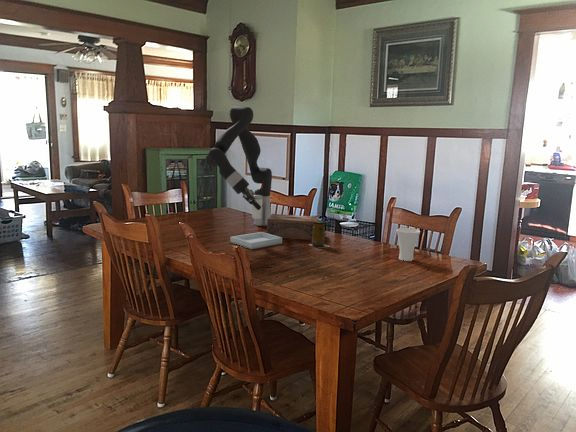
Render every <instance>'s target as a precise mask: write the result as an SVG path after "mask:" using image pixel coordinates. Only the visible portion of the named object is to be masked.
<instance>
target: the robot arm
mask: <svg viewBox="0 0 576 432" xmlns="http://www.w3.org/2000/svg"><path fill="white" fill-rule="evenodd" d="M229 117H230V122H231V123H232V126H230V127H229V128H227V129H226V130H225V131H223V132H222V133H221V134H220V135H219V137H218V138H217V140H216V142H215V143H214V146H212V148H211V149H210V150H209V152H208V153H207V154H206V156H205V163H206V164H207V166H208V167H211V168H214V167H218V169H219V170H218V173H219V175H220V176H221V177H222V178H223V179H224V180H225V182H226V183H227V185H228V186H230V187H231V189H232V190H233V191H234V192H235V193H236V194H237V195H240V194H242V198H244V200H245V201H247V203H248V204H249V205H251V206H252V205H254V207H255V208H256V209H257V210H260V209H261V206H260V205H259V204H258V203H257V202H256V200H255V199H254V196H253V195H262V218H261V219H254V218H253V225H255V226H260V227H262V226H264V227H265V226H266V227H267V219H268V218H269V217H270V216H271V215H272V208H271V191H272V179H273V172H272V169H270V168H268V167H259V165H258V159H259V157H260V155H261V146H260V144H259V140H258V138H257V137H256V136H255V135H254V134H253V133H252V131H250V130H249V129H248V126H249V125H250V124H252V122H253V119H254V111H253V109H252V108H251V107H250V106H241V105H235V106H234V105H233V106H232V107H231V108H230V111H229ZM237 138H238V139H239V141H240V143H241V146H242V150H243V153H244V155H245V159H246V161H247V164H248V167H249V168H248V169H249V173H250V176H251V180H252V181H253V183H254V184H260V185H261V184H262V187H261V188H258V189H255V190H253V189H249V188H248V187H249V186H250V183H249V182H248V181H247V179H245V178H244V176H242V174H241V173H240V172H238V171H237V169H235V167H233V165H232V164H231V163H230V161H229V159H228V157H227V156H226V153H227V152H228V151H229V149H230V148H231V146H232V145H233V143H234V142H235V140H236V139H237Z"/></svg>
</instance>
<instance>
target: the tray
mask: <svg viewBox="0 0 576 432" xmlns="http://www.w3.org/2000/svg"><path fill="white" fill-rule="evenodd" d="M230 244H233V245H236V244H237V245H236V246H239V245H240V246H241V247H242V246H243V248H246V249H249V250H254V249H260V248H265V247H269V246H270V247H272V246H276V245H281V244H283V238H282V237H278V236H275V235H271V234H267V232H264V231H258V232H253V233H246V234H240V235H239V234H238V235H235V236H234V235H233V236H230ZM240 246H239V247H240Z"/></svg>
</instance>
